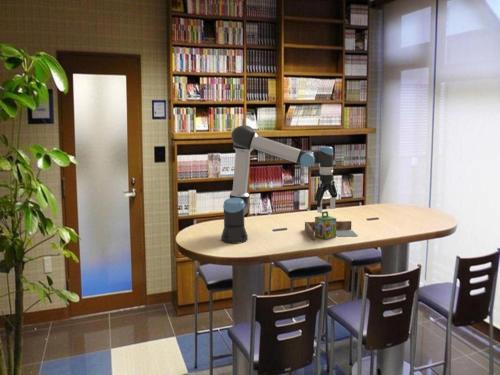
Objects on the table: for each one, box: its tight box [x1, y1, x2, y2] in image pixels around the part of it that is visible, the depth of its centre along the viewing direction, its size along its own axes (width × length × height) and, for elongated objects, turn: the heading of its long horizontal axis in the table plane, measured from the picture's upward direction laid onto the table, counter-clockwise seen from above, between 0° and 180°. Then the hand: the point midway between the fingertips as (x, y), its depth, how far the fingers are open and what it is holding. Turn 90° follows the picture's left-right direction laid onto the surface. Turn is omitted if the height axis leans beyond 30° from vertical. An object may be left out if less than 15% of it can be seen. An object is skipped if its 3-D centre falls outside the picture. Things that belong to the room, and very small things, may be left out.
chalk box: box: [314, 211, 337, 240], centre depth 267 cm, size 9×9×15 cm
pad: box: [336, 230, 358, 238], centre depth 274 cm, size 12×12×1 cm
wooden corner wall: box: [304, 220, 352, 241], centre depth 273 cm, size 29×22×5 cm
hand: (326, 210), depth 266 cm, fingers open, 13 cm apart
